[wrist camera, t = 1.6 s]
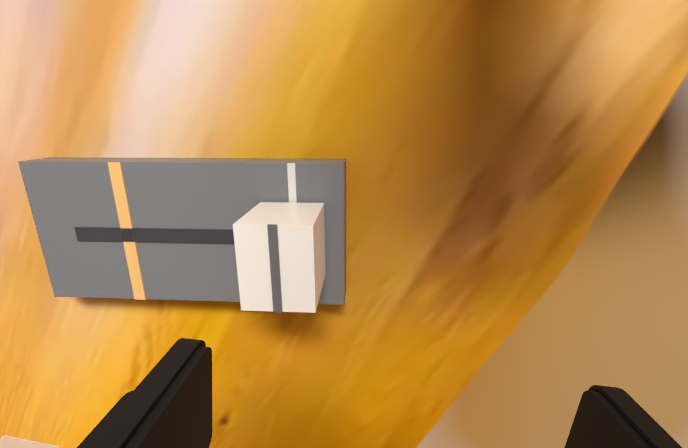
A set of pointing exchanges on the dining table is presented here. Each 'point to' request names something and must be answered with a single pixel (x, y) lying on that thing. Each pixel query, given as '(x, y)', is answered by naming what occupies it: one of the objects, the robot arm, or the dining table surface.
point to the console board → (170, 222)
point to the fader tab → (281, 256)
